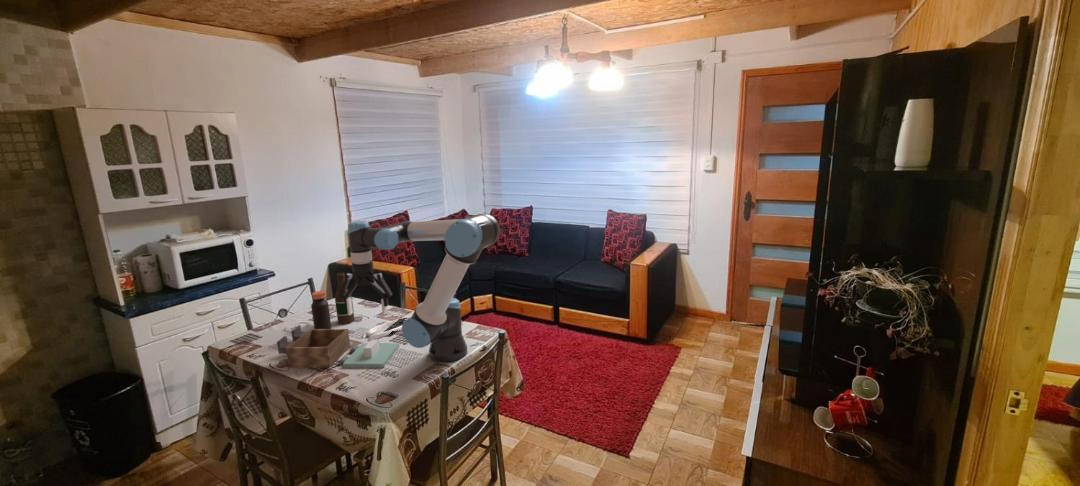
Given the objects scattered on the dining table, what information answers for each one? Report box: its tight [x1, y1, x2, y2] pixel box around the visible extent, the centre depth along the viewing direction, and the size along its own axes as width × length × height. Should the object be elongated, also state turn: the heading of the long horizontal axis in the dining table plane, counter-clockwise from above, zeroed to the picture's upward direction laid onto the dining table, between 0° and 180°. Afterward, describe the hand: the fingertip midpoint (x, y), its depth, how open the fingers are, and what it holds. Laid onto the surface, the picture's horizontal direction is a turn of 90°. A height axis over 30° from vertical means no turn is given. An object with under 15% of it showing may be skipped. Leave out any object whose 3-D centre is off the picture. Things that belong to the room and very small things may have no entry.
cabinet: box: [276, 325, 351, 369], centre depth 187 cm, size 20×18×10 cm
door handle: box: [362, 316, 411, 341], centre depth 213 cm, size 3×10×25 cm
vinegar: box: [310, 290, 332, 329], centre depth 206 cm, size 7×7×20 cm
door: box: [338, 338, 400, 369], centre depth 187 cm, size 18×18×6 cm
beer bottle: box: [334, 272, 355, 325], centre depth 221 cm, size 8×8×24 cm
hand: (367, 314), depth 183 cm, fingers open, 13 cm apart
